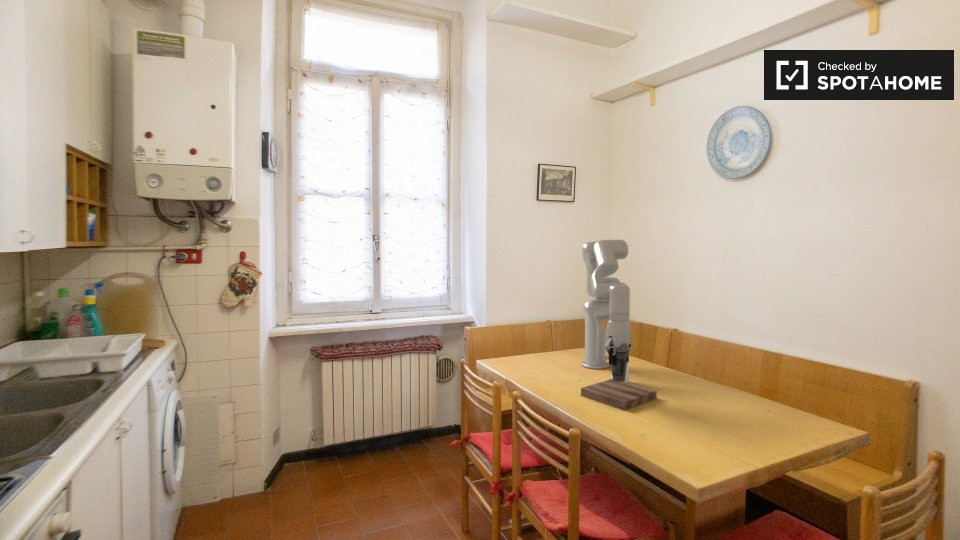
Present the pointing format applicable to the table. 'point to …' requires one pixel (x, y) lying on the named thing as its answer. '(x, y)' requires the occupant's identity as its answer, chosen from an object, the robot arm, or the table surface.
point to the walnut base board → (619, 394)
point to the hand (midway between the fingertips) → (618, 362)
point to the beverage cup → (620, 363)
